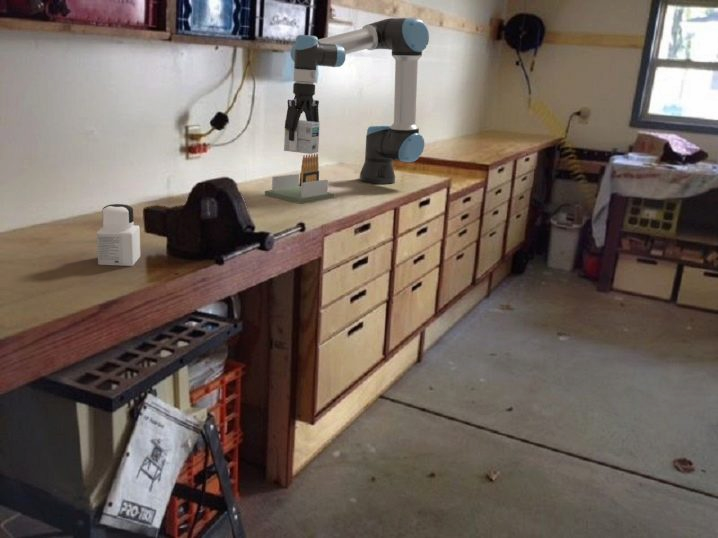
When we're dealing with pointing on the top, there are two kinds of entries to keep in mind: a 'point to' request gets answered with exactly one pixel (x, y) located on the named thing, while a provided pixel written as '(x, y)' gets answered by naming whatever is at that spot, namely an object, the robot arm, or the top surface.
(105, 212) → the container
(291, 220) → the top surface
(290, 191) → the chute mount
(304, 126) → the light bulb box
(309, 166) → the ammunition clip
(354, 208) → the top surface
